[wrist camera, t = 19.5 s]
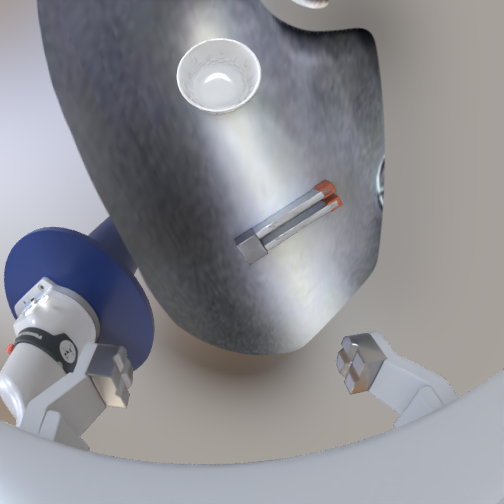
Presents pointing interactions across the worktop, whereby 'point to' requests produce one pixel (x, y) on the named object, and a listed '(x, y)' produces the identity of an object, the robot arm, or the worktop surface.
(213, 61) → the white cup
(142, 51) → the worktop surface
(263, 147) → the worktop surface
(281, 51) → the worktop surface
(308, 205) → the tongs
